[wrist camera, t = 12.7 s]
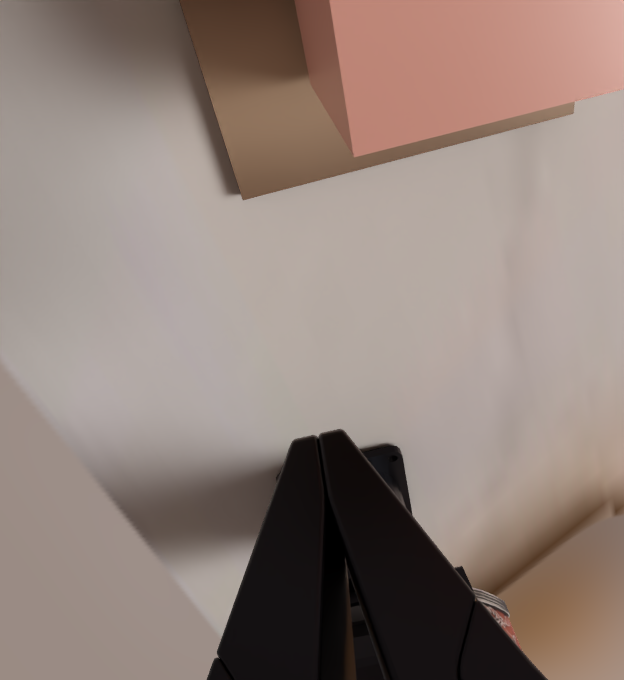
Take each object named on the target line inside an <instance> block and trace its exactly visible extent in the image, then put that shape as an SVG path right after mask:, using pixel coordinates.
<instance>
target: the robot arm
mask: <svg viewBox="0 0 624 680" xmlns="http://www.w3.org/2000/svg"><path fill="white" fill-rule="evenodd" d="M276 481H277V484H276V487H275V490H274V493H273V495H272V498H271V501H270V504H269V507H268V509H267V512H266V515H265V518H264V521H263V524H262V526H261V529H260V532H259V535H258V538H257V540H256V543H255V546H254V549H253V552H252V554H251V557H250V560H249V563H248V566H247V568H246V571H245V574H244V577H243V580H242V583H241V585H240V588H239V591H238V594H237V597H236V599H235V602H234V605H233V608H232V611H231V613H230V616H229V619H228V622H227V625H226V628H225V630H224V633H223V636H222V639H221V642H220V644H219V647H218V650H217V655H218V657H219V658H220V659H219V658H215V659H214V661H213V663H212V666H211V669H210V672H209V675H208V677H207V680H548V679H547V678H546V677H545V676H544V675H543V674H542V673H541V672H540V671H539V670H538V669H537V668H536V666H535V665H534V664H533V663H532V662H531V661H530V660H529V658H528V657H527V656H526V655H525V654H524V653H523V651H522V650H521V649H520V648H519V647H518V646H517V644H516V643H515V642H514V641H513V640H512V638H511V637H510V636H509V635H508V634H507V633H506V631H505V630H504V629H503V628H502V627H501V625H500V624H499V623H498V622H497V620H496V619H495V618H494V617H493V615H492V614H491V613H490V612H489V610H488V609H487V608H486V607H485V606H484V604H483V603H482V602H481V601H479V600H478V599H477V597H476V595H475V593H474V591H473V589H472V586H471V584H470V582H469V580H468V578H467V576H466V574H465V571H464V569H463V567H462V566H460V567H455V568H454V567H453V566H452V565H451V563H450V562H449V561H448V560H447V558H446V557H445V556H444V555H443V553H442V552H441V551H440V550H439V548H438V547H437V546H436V545H435V543H434V542H433V541H432V540H431V538H430V537H429V536H428V535H427V533H426V532H425V531H424V530H423V528H422V527H421V526H420V525H419V523H418V522H417V521H416V520H415V518H414V517H413V516H412V510H411V504H410V498H409V492H408V486H407V481H406V475H405V469H404V463H403V457H402V454H401V451H400V449H399V448H398V447H397V446H389V447H385V448H380V449H376V450H372V451H368V452H364V453H362V452H361V451H360V450H359V448H358V447H357V446H356V445H355V443H354V442H353V441H352V440H351V438H350V437H349V436H348V435H347V433H346V432H345V431H344V430H342V429H337V430H333V431H328V432H324V433H321V434H320V435H319V437H317V436H315V435H311V436H307V437H302V438H298V439H295V440H293V441H292V443H291V445H290V448H289V450H288V453H287V456H286V459H285V462H284V464H283V467H282V470H281V473H280V474H279V475H277V477H276Z"/></svg>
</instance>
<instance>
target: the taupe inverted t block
mask: <svg viewBox="0 0 624 680" xmlns="http://www.w3.org/2000/svg"><path fill="white" fill-rule="evenodd" d="M179 1H180V4H181V7H182V10H183V14H184V17H185V20H186V23H187V26H188V29H189V32H190V36H191V39H192V42H193V45H194V48H195V51H196V54H197V58H198V61H199V64H200V67H201V70H202V73H203V76H204V80H205V83H206V86H207V89H208V92H209V95H210V98H211V102H212V105H213V108H214V111H215V114H216V117H217V120H218V124H219V127H220V130H221V133H222V136H223V139H224V142H225V146H226V149H227V152H228V155H229V158H230V161H231V164H232V168H233V171H234V174H235V177H236V180H237V183H238V186H239V190H240V193H241V196H242V199H243V200H246V199H250V198H253V197H257V196H261V195H265V194H269V193H273V192H276V191H280V190H284V189H288V188H292V187H295V186H299V185H303V184H307V183H311V182H314V181H318V180H322V179H326V178H330V177H334V176H337V175H341V174H345V173H349V172H353V171H356V170H360V169H364V168H368V167H372V166H376V165H379V164H383V163H387V162H391V161H395V160H398V159H402V158H406V157H410V156H414V155H417V154H421V153H425V152H429V151H433V150H437V149H440V148H444V147H448V146H452V145H456V144H459V143H463V142H467V141H471V140H475V139H478V138H482V137H486V136H490V135H494V134H498V133H501V132H505V131H509V130H513V129H517V128H520V127H524V126H528V125H532V124H536V123H540V122H543V121H547V120H551V119H555V118H559V117H562V116H566V115H570V114H573V113H574V103H575V102H571V103H567V104H563V105H559V106H555V107H551V108H547V109H543V110H539V111H535V112H531V113H527V114H524V115H520V116H516V117H512V118H508V119H504V120H500V121H496V122H492V123H488V124H484V125H480V126H476V127H472V128H468V129H464V130H460V131H456V132H452V133H448V134H445V135H441V136H437V137H433V138H429V139H425V140H421V141H417V142H413V143H409V144H405V145H401V146H397V147H393V148H389V149H385V150H381V151H377V152H373V153H369V154H365V155H362V156H358V157H354V156H353V155H352V153H351V151H350V150H349V148H348V146H347V145H346V143H345V141H344V140H343V138H342V136H341V135H340V133H339V131H338V130H337V128H336V126H335V125H334V123H333V121H332V120H331V118H330V116H329V115H328V113H327V111H326V110H325V108H324V106H323V105H322V103H321V101H320V100H319V98H318V96H317V95H316V93H315V91H314V90H313V88H312V86H311V84H310V79H309V74H308V69H307V63H306V58H305V53H304V48H303V43H302V37H301V32H300V27H299V22H298V17H297V11H296V6H295V1H294V0H179Z"/></svg>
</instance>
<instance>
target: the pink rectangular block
mask: <svg viewBox="0 0 624 680" xmlns="http://www.w3.org/2000/svg"><path fill="white" fill-rule="evenodd" d="M294 1H295V6H296V11H297V17H298V22H299V27H300V32H301V37H302V43H303V48H304V53H305V58H306V63H307V69H308V74H309V79H310V84H311V86H312V88H313V90H314V91H315V93H316V95H317V96H318V98H319V100H320V101H321V103H322V105H323V106H324V108H325V110H326V111H327V113H328V115H329V116H330V118H331V120H332V121H333V123H334V125H335V126H336V128H337V130H338V131H339V133H340V135H341V136H342V138H343V140H344V141H345V143H346V145H347V146H348V148H349V150H350V151H351V153H352V155H353V156H354V157H358V156H362V155H365V154H369V153H373V152H377V151H381V150H385V149H389V148H393V147H397V146H401V145H405V144H409V143H413V142H417V141H421V140H425V139H429V138H433V137H437V136H441V135H445V134H448V133H452V132H456V131H460V130H464V129H468V128H472V127H476V126H480V125H484V124H488V123H492V122H496V121H500V120H504V119H508V118H512V117H516V116H520V115H524V114H527V113H531V112H535V111H539V110H543V109H547V108H551V107H555V106H559V105H563V104H567V103H571V102H575V101H579V100H583V99H587V98H591V97H595V96H599V95H603V94H607V93H610V92H614V91H618V90H622V89H624V0H294Z"/></svg>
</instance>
